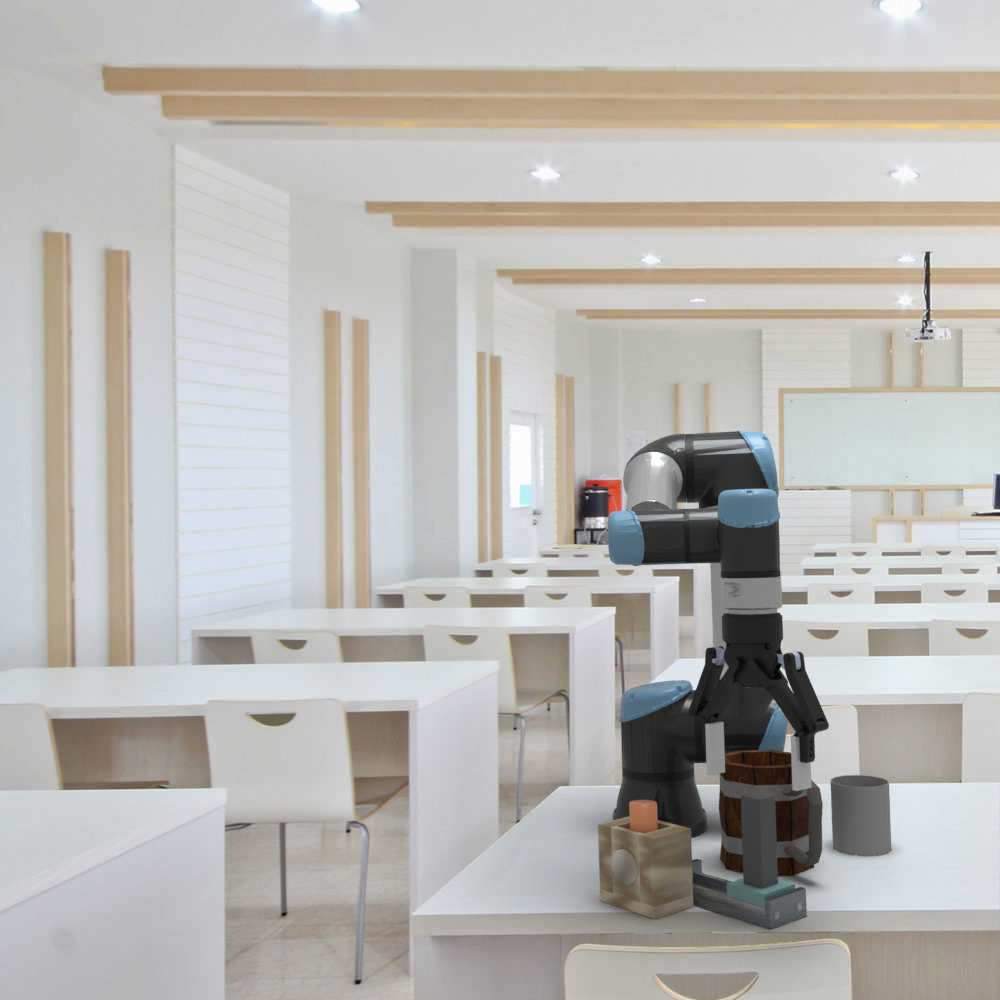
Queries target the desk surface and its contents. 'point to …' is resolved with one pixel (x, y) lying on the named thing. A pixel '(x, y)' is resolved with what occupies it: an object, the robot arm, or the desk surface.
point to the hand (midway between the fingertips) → (757, 781)
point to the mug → (793, 808)
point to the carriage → (758, 852)
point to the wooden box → (645, 868)
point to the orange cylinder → (643, 816)
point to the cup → (861, 815)
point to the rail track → (774, 914)
